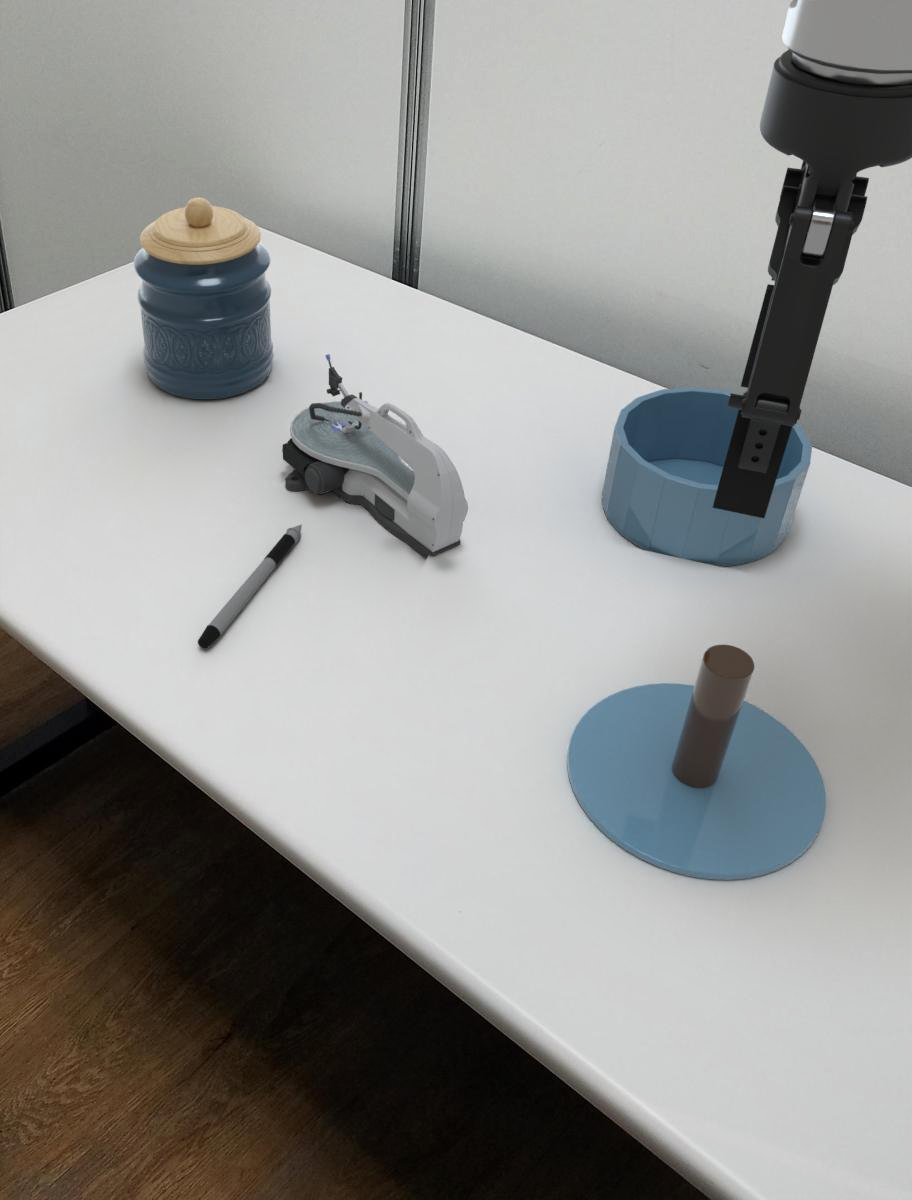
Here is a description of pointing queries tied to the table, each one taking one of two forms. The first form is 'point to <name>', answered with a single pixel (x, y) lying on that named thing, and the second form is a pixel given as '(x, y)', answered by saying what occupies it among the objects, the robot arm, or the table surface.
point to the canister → (204, 302)
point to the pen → (249, 588)
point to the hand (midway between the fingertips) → (752, 444)
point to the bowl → (692, 480)
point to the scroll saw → (378, 468)
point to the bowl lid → (698, 775)
